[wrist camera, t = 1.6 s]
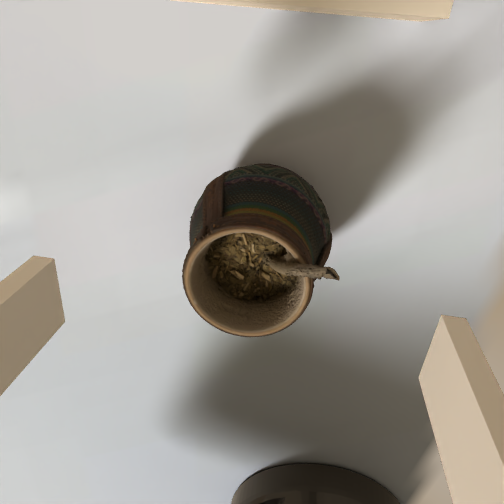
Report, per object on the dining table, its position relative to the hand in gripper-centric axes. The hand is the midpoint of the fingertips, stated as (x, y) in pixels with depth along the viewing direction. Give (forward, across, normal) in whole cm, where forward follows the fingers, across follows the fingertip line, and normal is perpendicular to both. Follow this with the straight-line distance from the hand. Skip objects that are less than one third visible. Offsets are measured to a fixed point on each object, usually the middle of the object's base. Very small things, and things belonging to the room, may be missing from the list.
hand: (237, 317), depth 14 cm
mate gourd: (+11, 0, 0) cm, 11 cm away
